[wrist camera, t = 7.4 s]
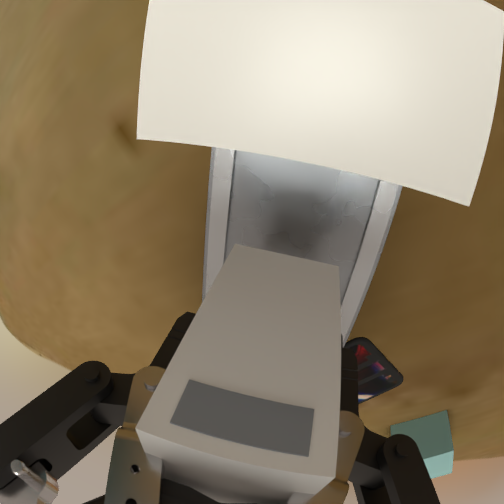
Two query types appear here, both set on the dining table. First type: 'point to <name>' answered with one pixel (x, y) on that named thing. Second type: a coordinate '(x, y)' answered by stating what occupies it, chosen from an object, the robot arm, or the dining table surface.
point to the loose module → (254, 383)
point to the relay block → (431, 441)
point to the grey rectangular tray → (299, 218)
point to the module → (329, 84)
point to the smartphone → (372, 370)
